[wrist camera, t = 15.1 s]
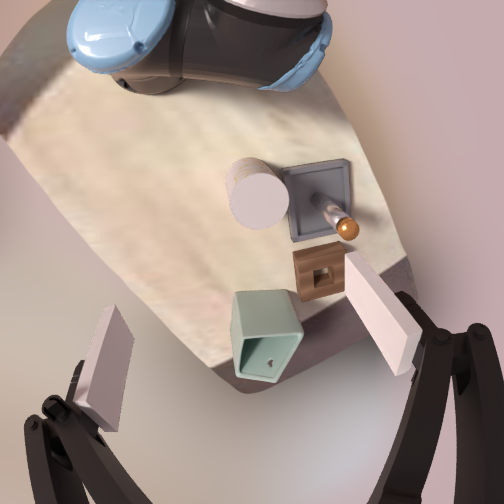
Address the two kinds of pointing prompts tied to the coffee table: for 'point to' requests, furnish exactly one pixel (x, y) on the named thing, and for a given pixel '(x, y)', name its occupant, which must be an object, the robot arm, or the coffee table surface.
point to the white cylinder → (255, 194)
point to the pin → (335, 216)
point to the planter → (263, 333)
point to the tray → (308, 183)
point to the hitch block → (319, 259)
